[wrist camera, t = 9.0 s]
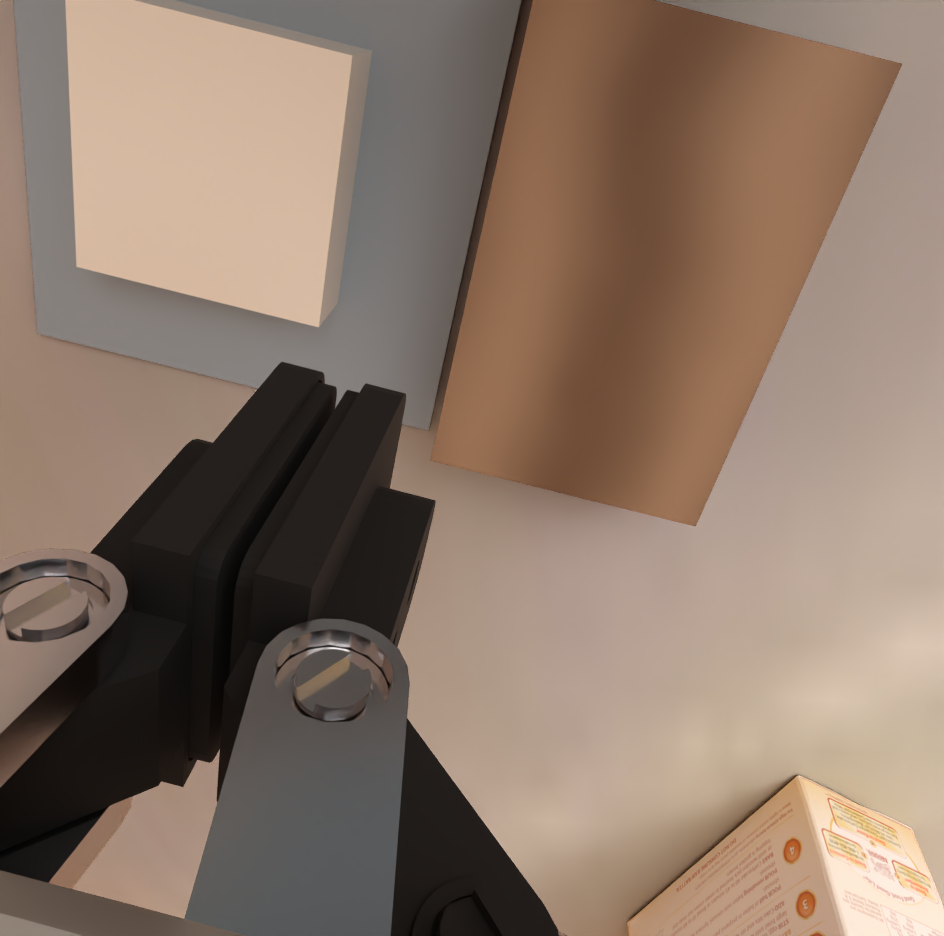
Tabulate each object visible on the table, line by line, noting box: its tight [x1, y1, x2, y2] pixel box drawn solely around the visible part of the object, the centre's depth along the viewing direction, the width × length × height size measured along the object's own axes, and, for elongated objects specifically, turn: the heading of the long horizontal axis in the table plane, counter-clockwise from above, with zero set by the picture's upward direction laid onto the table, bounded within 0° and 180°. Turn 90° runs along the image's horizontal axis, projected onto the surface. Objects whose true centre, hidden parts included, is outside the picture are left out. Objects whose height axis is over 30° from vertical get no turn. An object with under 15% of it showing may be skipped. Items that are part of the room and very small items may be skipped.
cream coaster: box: [65, 0, 372, 327], centre depth 25 cm, size 8×8×2 cm
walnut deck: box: [431, 0, 902, 526], centre depth 25 cm, size 9×14×4 cm, turn 167°
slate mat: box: [13, 0, 522, 431], centre depth 26 cm, size 15×16×1 cm
